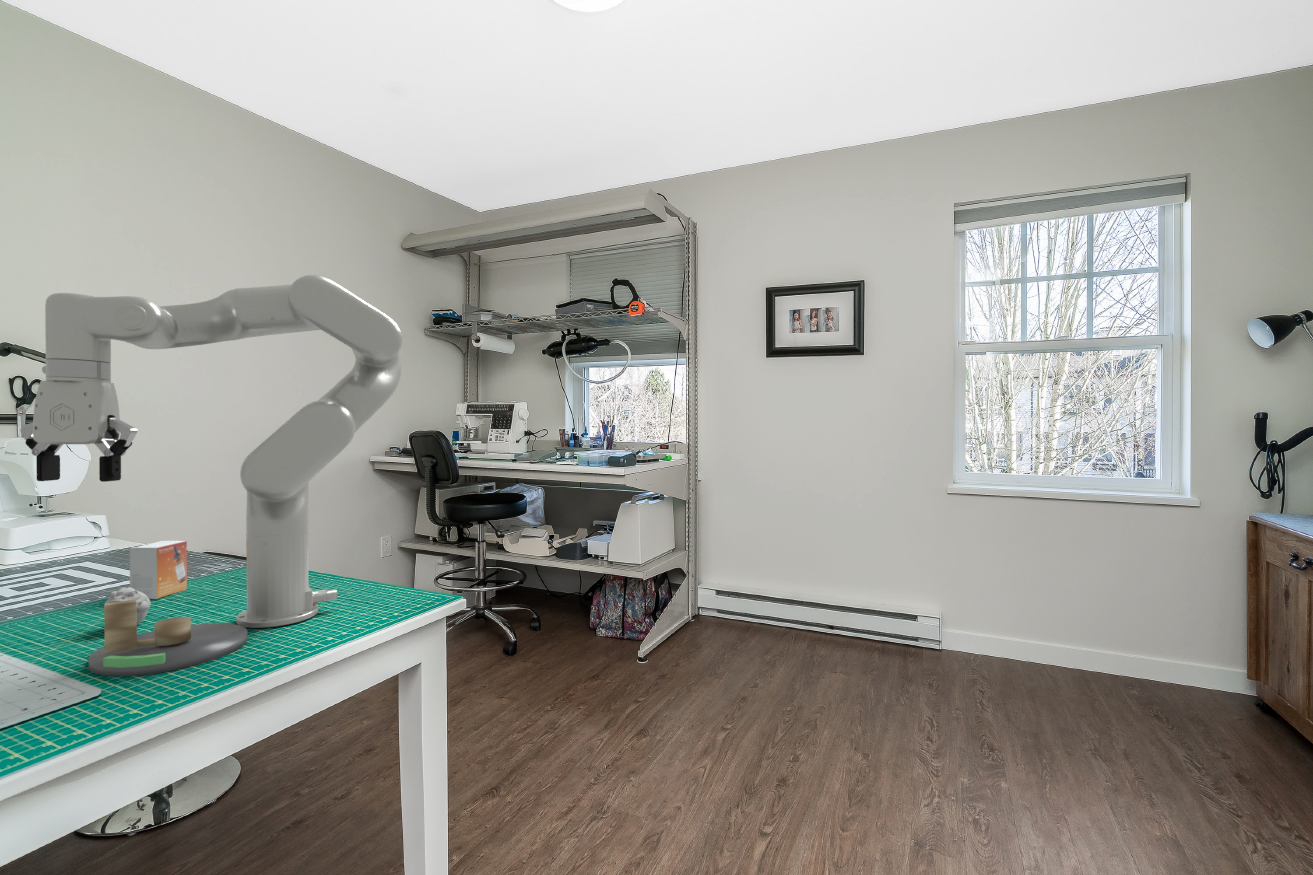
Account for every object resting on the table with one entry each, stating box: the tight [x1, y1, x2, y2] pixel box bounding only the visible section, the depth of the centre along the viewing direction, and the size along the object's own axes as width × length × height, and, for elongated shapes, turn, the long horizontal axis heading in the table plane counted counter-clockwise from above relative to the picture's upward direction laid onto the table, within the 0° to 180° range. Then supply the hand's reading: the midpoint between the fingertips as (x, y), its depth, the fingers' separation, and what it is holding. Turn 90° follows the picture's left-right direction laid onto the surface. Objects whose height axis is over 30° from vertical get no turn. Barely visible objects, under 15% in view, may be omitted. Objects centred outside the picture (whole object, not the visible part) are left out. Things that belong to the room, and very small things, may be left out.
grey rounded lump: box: [103, 586, 152, 625], centre depth 104 cm, size 6×7×7 cm
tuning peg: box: [103, 599, 192, 654], centre depth 91 cm, size 10×4×7 cm, turn 129°
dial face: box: [88, 622, 248, 677], centre depth 93 cm, size 19×19×2 cm
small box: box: [129, 540, 188, 600], centre depth 125 cm, size 8×6×10 cm
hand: (79, 480), depth 96 cm, fingers open, 9 cm apart
